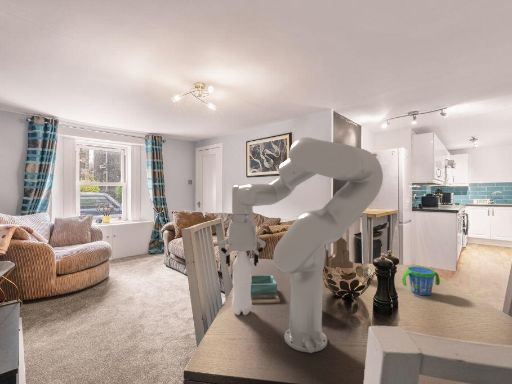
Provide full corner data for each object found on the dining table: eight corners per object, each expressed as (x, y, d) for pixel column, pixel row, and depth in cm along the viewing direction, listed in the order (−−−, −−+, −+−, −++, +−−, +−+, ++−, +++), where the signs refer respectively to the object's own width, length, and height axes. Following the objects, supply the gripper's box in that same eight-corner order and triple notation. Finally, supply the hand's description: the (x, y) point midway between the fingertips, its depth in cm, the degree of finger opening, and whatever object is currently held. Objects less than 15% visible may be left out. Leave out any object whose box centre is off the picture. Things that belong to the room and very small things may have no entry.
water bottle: (230, 309, 101) (230, 243, 101) (248, 306, 103) (248, 241, 103) (234, 318, 94) (234, 247, 94) (254, 315, 96) (254, 245, 96)
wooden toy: (345, 270, 150) (345, 225, 149) (353, 274, 143) (353, 227, 143) (320, 273, 145) (321, 226, 144) (328, 277, 138) (328, 228, 138)
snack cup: (408, 297, 113) (408, 273, 113) (396, 287, 124) (397, 265, 124) (447, 298, 112) (447, 274, 112) (432, 288, 123) (432, 266, 123)
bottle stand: (279, 302, 107) (279, 287, 107) (247, 303, 106) (247, 288, 106) (273, 287, 123) (273, 274, 123) (244, 288, 122) (244, 275, 122)
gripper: (218, 220, 94) (217, 269, 94) (267, 219, 95) (267, 267, 96) (218, 217, 101) (218, 263, 101) (264, 217, 103) (264, 261, 103)
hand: (242, 265), depth 98 cm, fingers open, 9 cm apart
